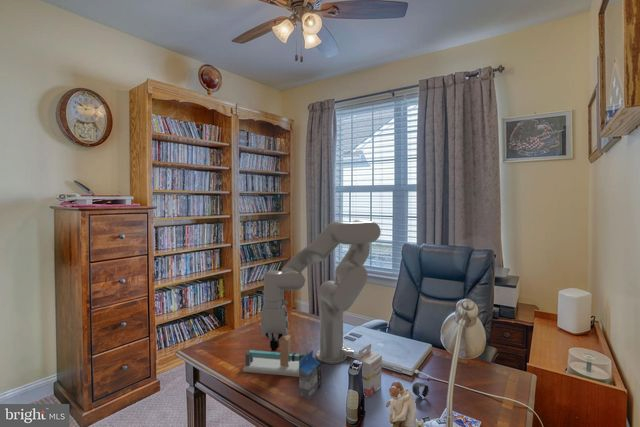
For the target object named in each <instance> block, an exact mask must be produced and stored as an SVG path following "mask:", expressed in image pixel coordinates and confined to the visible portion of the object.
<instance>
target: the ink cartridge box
mask: <svg viewBox="0 0 640 427" xmlns="http://www.w3.org/2000/svg"><path fill="white" fill-rule="evenodd" d="M371 349H372V343H369V344H367V345H366V346H364V347H363V348H362V349H359V350H358V356H357V362H358V361H359V362H362V363H363V367H362V380H363V388H364V394H365V396H367V397H369V396H370V395H372V394H373V393H374V392H375V391H376V390H377V389H378V388H379V387H381V388H382V368H383V367H382V366H383V365H382V361H383V354H380V353H377V352H373V351H371ZM377 391H378V390H377ZM377 391H376V392H377ZM376 392H375V393H376ZM375 393H374V394H375ZM374 394H373V395H374ZM373 395H372V396H373ZM365 396H364V397H365ZM367 397H366V398H367ZM369 398H370V397H369Z"/></svg>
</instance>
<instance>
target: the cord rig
mask: <svg viewBox="0 0 640 427" xmlns="http://www.w3.org/2000/svg"><path fill="white" fill-rule="evenodd" d="M308 353H309V352H308V350H303V349H301V350H300V352H299V353H297V352H292V353H291V354H290V353H289V355H288V360H291V361H290V362H289V361H288V366H280V352H277V351H267V350H266V351H265V350H254V349H248V352H247V353H245V354H244V355H245V365H244V366H243V368H242V372H247V373H256V374H266V375H276V376H288V377H299V361H300V360H301V359H302V358H304V357H305V356H306V355H307V354H308ZM307 359H308V358H306V359H305V360H304V361H306V360H307Z"/></svg>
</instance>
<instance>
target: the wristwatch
mask: <svg viewBox="0 0 640 427" xmlns="http://www.w3.org/2000/svg"><path fill="white" fill-rule="evenodd" d="M421 387H424V388H423V390H422V392H420V388H421ZM429 392H430V389H429V385H427V384H426V383H424V382H415V383H414V384H413V385H412V393H413V394H414V395H415V396H417V398H419V399H422V397H421V396H420V395H423V396H424V397H425V398H426V397H427V396H428V394H429Z"/></svg>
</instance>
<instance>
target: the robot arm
mask: <svg viewBox="0 0 640 427" xmlns="http://www.w3.org/2000/svg"><path fill="white" fill-rule="evenodd" d="M381 234H382V233H381V227H380V226H379V224H378V223H376V222H375V221H370V220H366V219H365V220H364V219H355V220H353V221H352V222H344V221H339V220H338V221H337V220H333V221H332V222H330V223H329V224H327V226H326V227H325V228H324V229H323V230H322V231H321V232H320V233H319V234H318V235H317V236H316V237H315V238H314V240H313V241H312V242H311V243H310V244H309V245H307V246H305V247H304V248H303V249H302V250H300V251H299V252H297V253H296V254H295V255H294V256H292V257H291V259H289V260H288V261H287V262H286V264H284V266H283V267H282V268H281V270H268V271H266V272H264V274H263V304H264V305H262V308H261V315H260V334H261V335H263V336H266V337H267V339H268V341H269V346H270V347H269V348H270V350H271V351H270V352H277V350H278V349H279V348H280V347H279V346H280V341H279V340H280V339H281V338H282V337H283V336H287V335H289V332H288V329H289V317H288V310H287V306H286V305H288V300H285V298H284V296H285V294H284V293H285V292H284V291H299V290H301V289H302V288H303V287H304V286H305V284H306V278H305V275H304V274H303V273H302V272H303V271H304V270H305V269H306V268H308V267H309V266H311V265H313V264H316V263H319V262H322V261H324V260H326V259H327V258H328V257H329V256H330V255H331V253H333V251H334V250H335V249H336V248H337V247H338V246H339V245H340V244H341V245H350V247H349V249H348V251H347V252H346V253H345V255H344V256H343V258H342V259H341V261H340V262H339V264H338V265H337V266H336V268H335V277H336V278H337V279H338V281H340V283H338V282H337V281H335V280H326V281H324V282H323V283H322V284H321V285H320V286H319V289H318V303H319V313H320V315H319V327H320V328H319V330H320V331H319V336H320V337H319V350H317V351H316V355H315V356H316V360H317V361H319V362H320V363H324V364H331V365H336V364H340V363H342V362H345V361H346V359H347V356H353V357H354V354H355V351H354V350H352V347H348V348H347V347H345V343H344V312H346V311H348V310H349V309H350V308H351V307H352V305H354V303H355V301H356V300H357V298H358V297H359V295H360V294H361V293H362V291H363V290H364V287H365V286H366V285H367V282H368V271H367V268H366V267H364V264H365V262H366V261H367V259H368V258H369V255H370V251H371V245H370V244H371V243H374V242H376V241H377V240H379V239H380V236H381Z"/></svg>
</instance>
